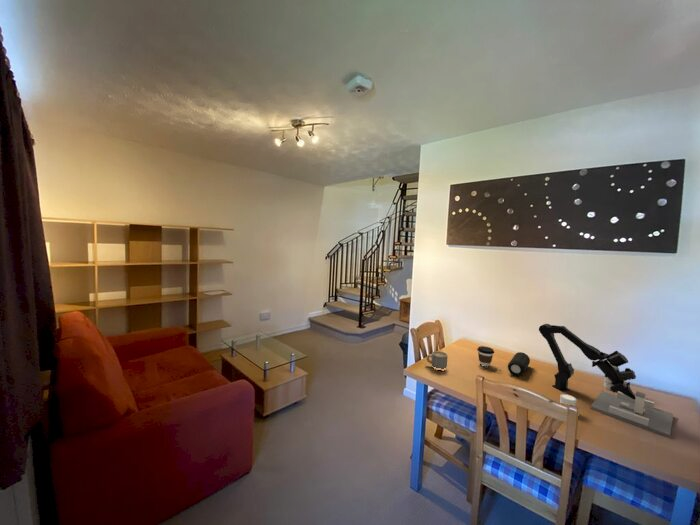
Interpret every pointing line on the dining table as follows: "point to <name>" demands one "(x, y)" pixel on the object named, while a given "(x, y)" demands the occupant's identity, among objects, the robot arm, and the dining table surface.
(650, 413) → the breaker panel
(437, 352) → the coffee mug
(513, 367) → the portable speaker
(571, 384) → the dining table surface
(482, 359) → the coffee cup
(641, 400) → the beige rectangular block
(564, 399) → the white cylinder
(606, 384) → the energy drink can
